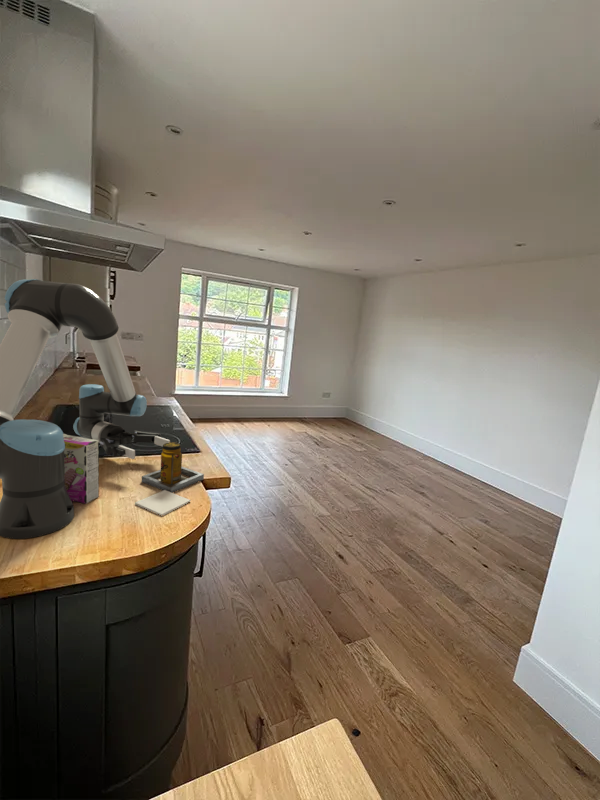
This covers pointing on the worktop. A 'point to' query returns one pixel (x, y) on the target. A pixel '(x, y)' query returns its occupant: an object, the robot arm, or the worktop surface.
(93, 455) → the candy bar box
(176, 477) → the condiment
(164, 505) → the tile
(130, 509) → the worktop surface
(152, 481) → the socket
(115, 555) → the worktop surface
